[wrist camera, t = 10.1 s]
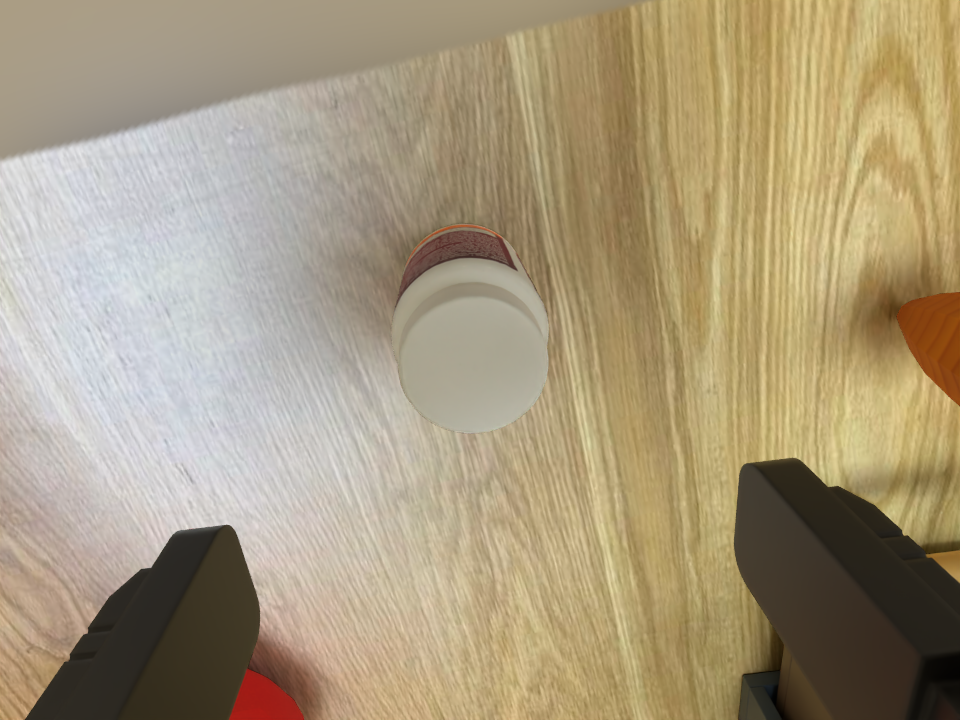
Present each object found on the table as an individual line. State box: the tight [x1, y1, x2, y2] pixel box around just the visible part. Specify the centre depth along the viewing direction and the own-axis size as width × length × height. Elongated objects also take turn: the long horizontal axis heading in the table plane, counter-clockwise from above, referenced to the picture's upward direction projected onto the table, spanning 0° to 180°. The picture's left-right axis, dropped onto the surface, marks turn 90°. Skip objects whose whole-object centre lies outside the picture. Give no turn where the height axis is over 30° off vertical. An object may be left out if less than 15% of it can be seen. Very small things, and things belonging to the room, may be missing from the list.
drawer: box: [776, 550, 960, 720], centre depth 27 cm, size 18×12×8 cm
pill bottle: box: [391, 224, 549, 434], centre depth 19 cm, size 5×5×8 cm
